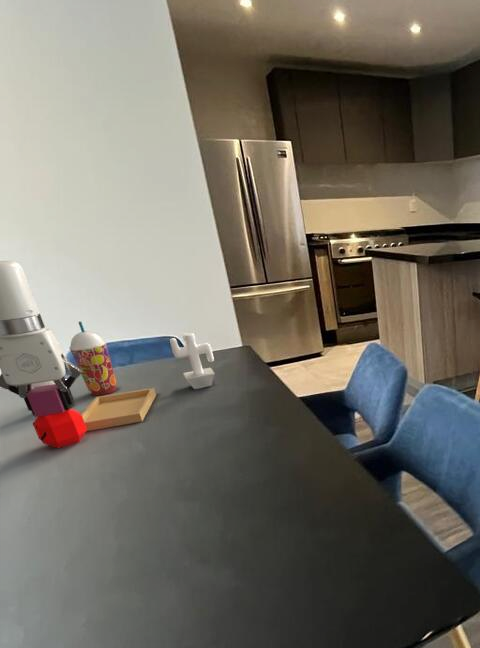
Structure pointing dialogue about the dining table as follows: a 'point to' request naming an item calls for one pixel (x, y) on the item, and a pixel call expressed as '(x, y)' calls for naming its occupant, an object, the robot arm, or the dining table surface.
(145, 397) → the tray
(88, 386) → the smoothie
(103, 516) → the dining table surface
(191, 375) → the figurine
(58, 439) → the red apple
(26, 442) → the dining table surface
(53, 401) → the pink block
